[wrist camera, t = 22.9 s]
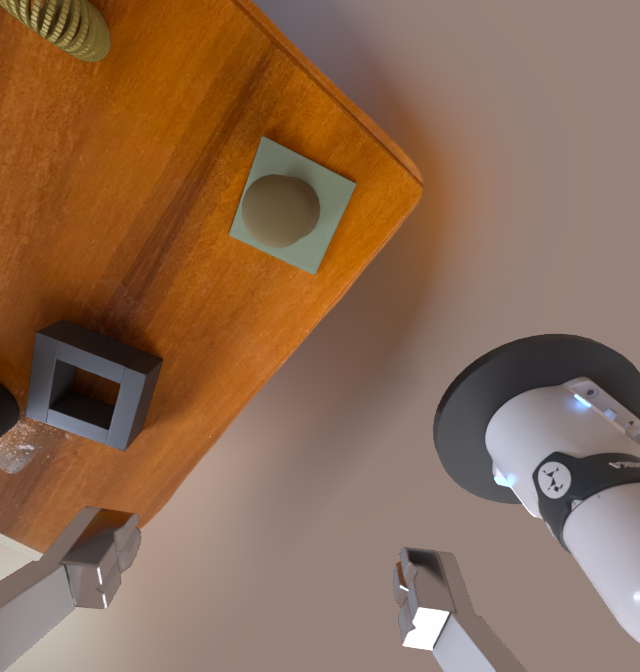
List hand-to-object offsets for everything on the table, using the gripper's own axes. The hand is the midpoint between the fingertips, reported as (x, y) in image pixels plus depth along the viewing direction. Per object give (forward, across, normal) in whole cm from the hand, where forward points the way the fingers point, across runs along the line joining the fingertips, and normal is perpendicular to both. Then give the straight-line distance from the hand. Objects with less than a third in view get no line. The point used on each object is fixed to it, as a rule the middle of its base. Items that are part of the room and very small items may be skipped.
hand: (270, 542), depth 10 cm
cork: (+29, -4, +8) cm, 30 cm away
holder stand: (+29, -26, -15) cm, 42 cm away
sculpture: (+29, -23, +20) cm, 43 cm away
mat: (+29, -4, +8) cm, 31 cm away
